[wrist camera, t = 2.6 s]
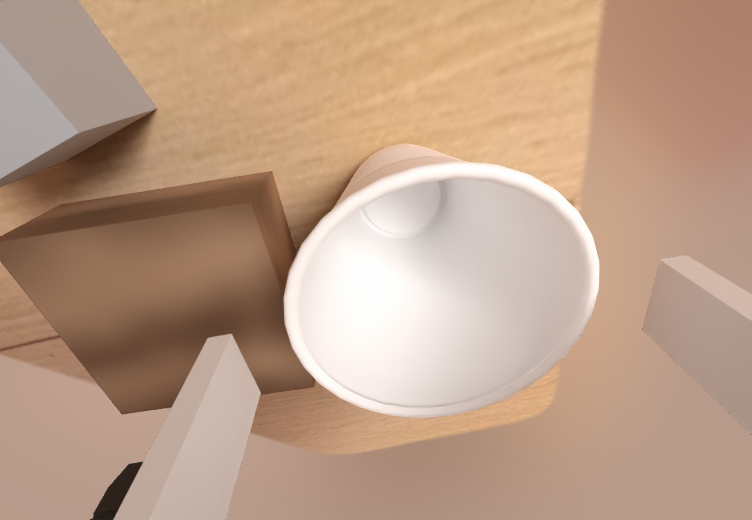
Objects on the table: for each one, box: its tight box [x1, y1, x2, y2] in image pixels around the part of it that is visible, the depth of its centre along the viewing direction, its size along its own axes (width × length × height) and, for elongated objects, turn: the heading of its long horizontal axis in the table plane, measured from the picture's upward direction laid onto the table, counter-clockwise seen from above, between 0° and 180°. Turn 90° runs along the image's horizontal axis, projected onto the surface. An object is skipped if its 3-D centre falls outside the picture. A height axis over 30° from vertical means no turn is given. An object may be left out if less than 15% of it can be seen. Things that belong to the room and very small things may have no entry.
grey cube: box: [0, 0, 157, 187], centre depth 14 cm, size 6×6×6 cm
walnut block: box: [0, 171, 315, 414], centre depth 21 cm, size 12×12×5 cm
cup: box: [283, 144, 599, 418], centre depth 16 cm, size 10×10×11 cm
